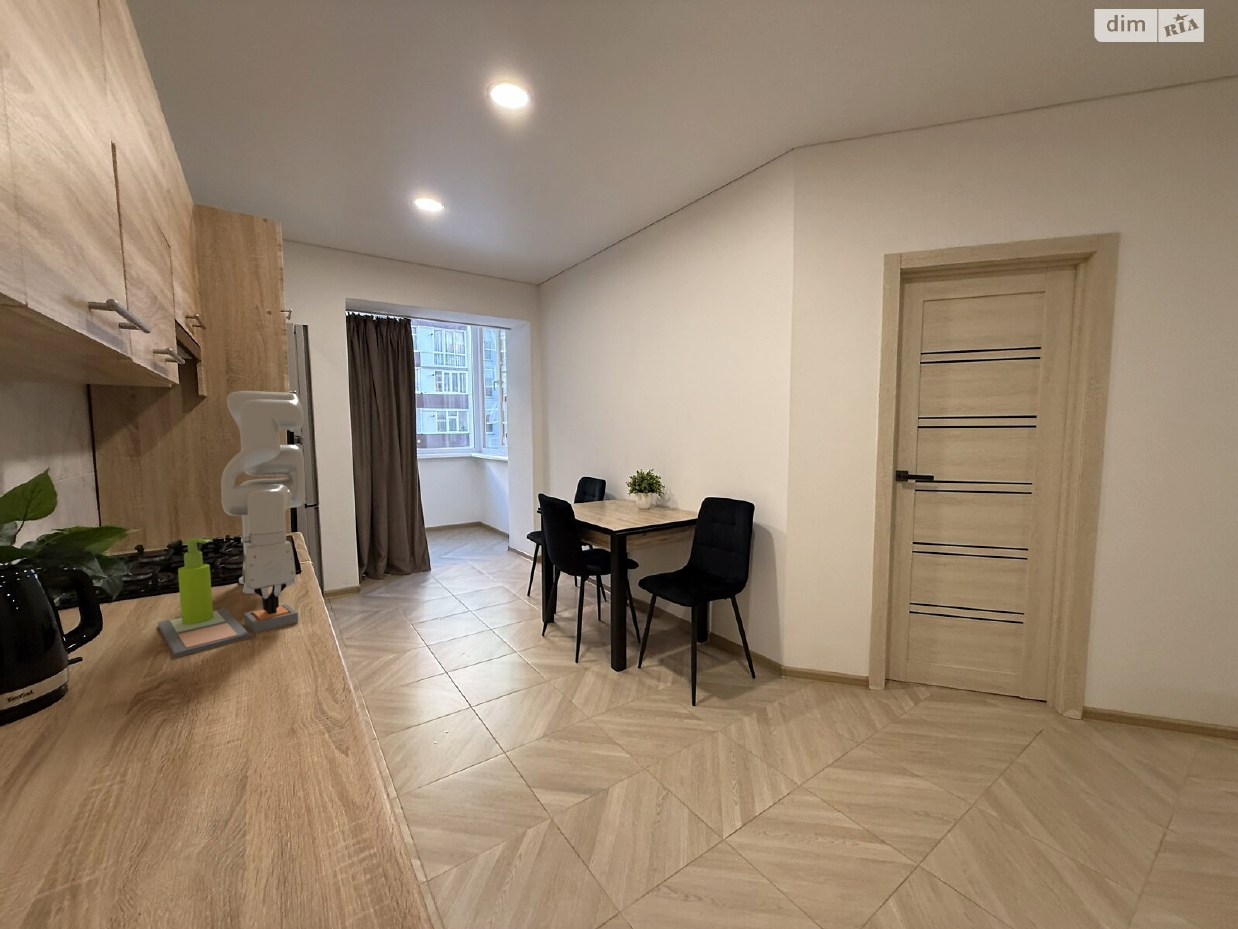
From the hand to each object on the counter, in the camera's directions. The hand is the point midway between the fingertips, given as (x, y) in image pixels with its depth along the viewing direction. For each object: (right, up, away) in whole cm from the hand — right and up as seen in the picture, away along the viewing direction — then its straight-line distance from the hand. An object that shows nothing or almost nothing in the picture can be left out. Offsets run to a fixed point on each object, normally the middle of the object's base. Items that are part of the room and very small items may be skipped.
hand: (271, 611), depth 125 cm
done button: (0, -2, 0) cm, 2 cm away
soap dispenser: (-16, -2, -1) cm, 17 cm away
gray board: (-12, -3, -6) cm, 14 cm away
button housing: (0, -3, 0) cm, 3 cm away
